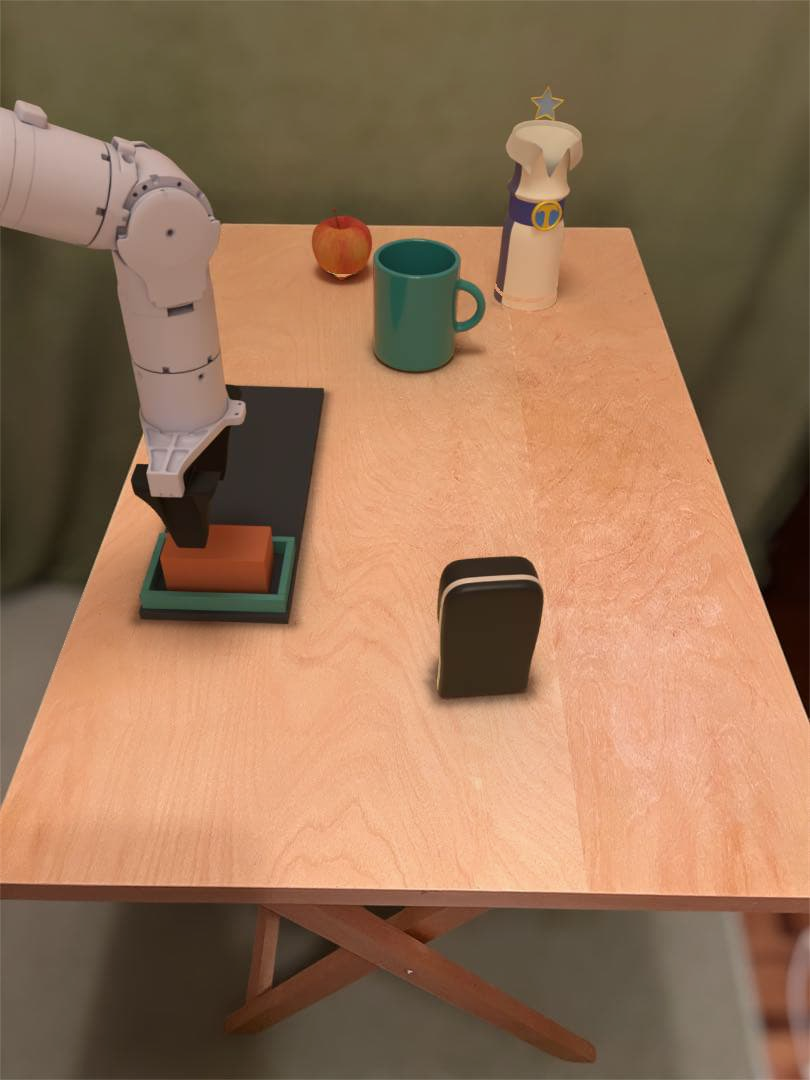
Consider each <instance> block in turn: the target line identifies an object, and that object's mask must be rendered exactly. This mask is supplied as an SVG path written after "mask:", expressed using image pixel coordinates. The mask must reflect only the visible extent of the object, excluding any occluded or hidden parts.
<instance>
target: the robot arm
mask: <svg viewBox="0 0 810 1080" xmlns="http://www.w3.org/2000/svg"><path fill="white" fill-rule="evenodd" d="M221 225H222V224H221V221H220V220H218V219H216V218H215V216H214V211H213V207H212V205H211V203H210V201H209V199H208V197H207V196H206V194H205V193H204V192H203V191H202V190H201V189H200V188H199V186H198V185H196V183H194V181H192V179H191V178H189V176H188V175H187V174H186V173H185V172H184V171H183V170H182V169H181V168H180V167H179V166H178V165H177V164H176V163H175V162H174V161H173V160H172V159H170V158H169V157H168V156H166V155H165V154H163V153H162V152H161V151H159V150H156V149H155V148H152V147H151V146H150V145H149V144H148V143H146V142H145V141H143V140H142V141H141V140H132V141H130V140H129V139H125V138H122V137H119V136H116V135H115V136H113V137H112V139H111V142H110V143H109V142H107V141H105V140H101V139H97V138H95V137H92V136H89V135H86V134H82V133H80V132H77V131H73V130H70V129H68V128H65V127H61V126H59V125H55V124H52V123H49V122H48V115H47V114H46V113H45V111H44V110H43V109H42V108H41V107H40V106H38V105H36V104H33V103H29V102H26V101H25V100H21V99H17V100H16V101H15V104H14V107H13V110H11V109H7V108H4V107H1V106H0V227H3V228H8V229H12V230H16V231H19V232H23V233H27V234H32V235H36V236H40V237H43V238H47V239H50V240H55V241H58V242H63V243H67V244H71V245H74V246H79V247H83V248H85V249H91V250H110V251H111V255H112V261H113V265H114V269H115V274H116V279H117V289H116V290H117V297H118V301H119V306H120V311H121V315H122V316H121V317H122V321H123V326H124V330H125V335H126V340H127V344H128V345H127V346H128V350H129V354H130V360H131V366H132V370H133V375H134V380H135V385H136V390H137V395H138V400H139V405H140V406H139V410H138V415H139V419H140V426H141V428H142V433H143V439H144V442H145V447H146V451H147V455H148V456H147V457H148V463H136V465H135V467H134V469H133V472H132V475H131V477H130V484H131V488H132V491H133V494H134V495H135V496H136V497H138V499H140V500H142V501H143V502H144V503H145V504H147V505H148V506H149V507H150V508H151V509H152V511H154V512H155V513H156V515H157V516H158V517H159V519H160V520H161V522H162V523H163V525H164V526H165V529H166V528H167V530H168V532H169V533H170V535H171V537H172V539H173V540H174V542H175V544H176V545H177V547H179V548H202V549H204V548H206V544H207V540H208V536H209V526H210V503H211V499H212V497H213V495H214V493H215V491H216V488H217V485H218V482H219V480H222V481H223V480H224V476H225V473H226V468H227V460H228V448H229V437H230V430H231V425H240V424H242V423H243V421H244V418H245V414H246V406H245V403H244V402H243V401H241V397H242V393H241V389H240V388H239V387H237V386H235V385H236V384H231V383H230V384H229V383H226V381H225V372H224V371H225V370H224V365H223V363H224V362H223V356H222V349H221V348H222V347H221V339H220V332H219V325H218V316H217V309H216V308H217V307H216V300H215V293H214V292H215V291H214V283H213V280H212V278H211V270H210V261H211V260H212V258H213V257H214V255H215V253H216V251H217V249H218V246H219V243H220V239H221V231H222V230H221V229H222V226H221ZM190 464H191V466H190Z"/></svg>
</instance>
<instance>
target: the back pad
mask: <svg viewBox="0 0 810 1080" xmlns="http://www.w3.org/2000/svg"><path fill="white" fill-rule="evenodd" d="M234 385H235V386H237V387H239V388H240V389H241V393H242V397H241V401H243V402H244V403H245V406H246V414H245V418H244V421H243V423H242V424H240V425H231V430H230V437H229V448H228V460H227V468H226V473H225V476H224V480H223V481H222V480H219V482H218V485H217V488H216V491H215V493H214V495H213V497H212V499H211V503H210V525H237V526H269V527H271V532H272V541H273V551H274V560H275V563H274V569H273V574H272V580H271V585H270V591H269V594H245V593H213V592H181V591H167V587H166V582H165V578H164V573H163V569H162V564H161V560H160V556H161V553H162V550H163V547H164V544H165V541H166V538H167V534H168V530H167V528H166V527H165V530H164V532H159V534H158V536H157V540H156V543H155V546H154V548H153V552H152V555H151V558H150V561H149V565H148V567H147V571H146V574H145V576H144V579H143V583H142V586H141V589H140V592H139V600H140V607H139V611H138V615H139V618H140V620H157V621H159V620H160V621H187V622H189V621H194V622H222V623H225V622H226V623H252V624H253V623H254V624H256V623H257V624H282V625H283V624H287V625H288V624H289V622H290V614H291V607H292V601H293V595H294V589H295V583H296V582H295V581H296V575H297V570H298V563H299V556H300V550H301V543H302V538H303V532H304V524H305V518H306V512H307V506H308V500H309V492H310V486H311V480H312V475H313V473H312V472H313V466H314V461H315V460H314V459H315V454H316V448H317V441H318V435H319V427H320V422H321V416H322V410H323V409H322V408H323V403H324V396H325V389H324V387H303V386H301V387H300V386H298V387H297V386H268V385H265V386H264V385H238V384H234ZM190 466H191V464H190Z"/></svg>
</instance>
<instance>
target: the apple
mask: <svg viewBox="0 0 810 1080" xmlns="http://www.w3.org/2000/svg"><path fill="white" fill-rule="evenodd" d="M332 210H333V212H334V216H335V217H331V218H328V219H325V220H323V221H321V222H320V223H318V224H317V225H316V226H315V227H314V229H313V232H312V236H311V247H312V252H313V255H314V258H315V260H316V262H317V263H318V265H319V266H320V268H321V267H322V268H323V269H325V270H326V271H329V272H331V273H335V274H353V273H356V272H358V271H360V270H361V271H363V269H364V268H365V267H366V265H367V263H368V261H369V259H370V257H371V253H372V248H373V238H372V233H371V230H370V229H369V227H368V225H367V224H365V223H364V222H363V221H361V220H360V219H358V218H355V217H353V216H350V215H349V216H348V215H339V216H337V208H336V207H332ZM322 268H321V269H322ZM323 269H322V270H323ZM326 271H325V272H326ZM361 271H360V272H361ZM358 273H359V272H358ZM356 274H357V273H356ZM332 276H333V277H335V278H337V279H338V280H339V281H344V280H346V278H349V277H350V276H346V277H337V276H334V275H332Z"/></svg>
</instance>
